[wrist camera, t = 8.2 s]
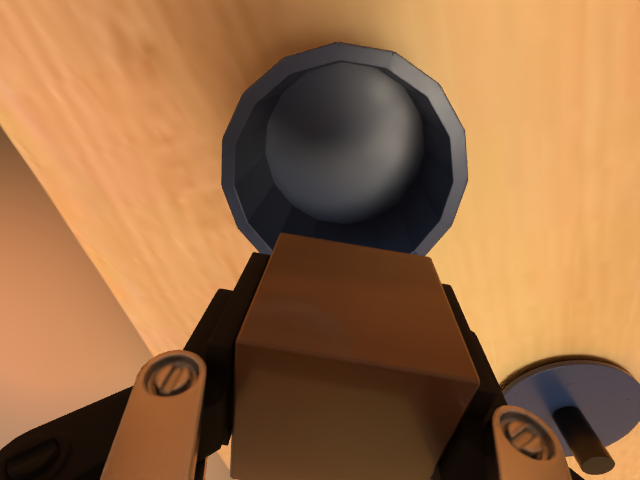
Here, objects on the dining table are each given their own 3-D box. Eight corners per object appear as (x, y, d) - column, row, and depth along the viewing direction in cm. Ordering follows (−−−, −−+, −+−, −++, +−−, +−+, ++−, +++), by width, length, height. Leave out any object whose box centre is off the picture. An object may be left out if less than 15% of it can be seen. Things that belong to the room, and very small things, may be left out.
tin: (264, 35, 24) (223, 22, 16) (458, 68, 24) (508, 70, 16) (252, 214, 30) (219, 265, 23) (406, 241, 30) (425, 300, 23)
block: (280, 230, 10) (234, 341, 6) (431, 256, 10) (483, 383, 6) (268, 343, 12) (228, 479, 8) (394, 364, 12) (414, 511, 8)
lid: (521, 343, 34) (556, 399, 28) (668, 369, 34) (732, 430, 28) (470, 435, 41) (489, 495, 35) (592, 456, 41) (632, 519, 35)
